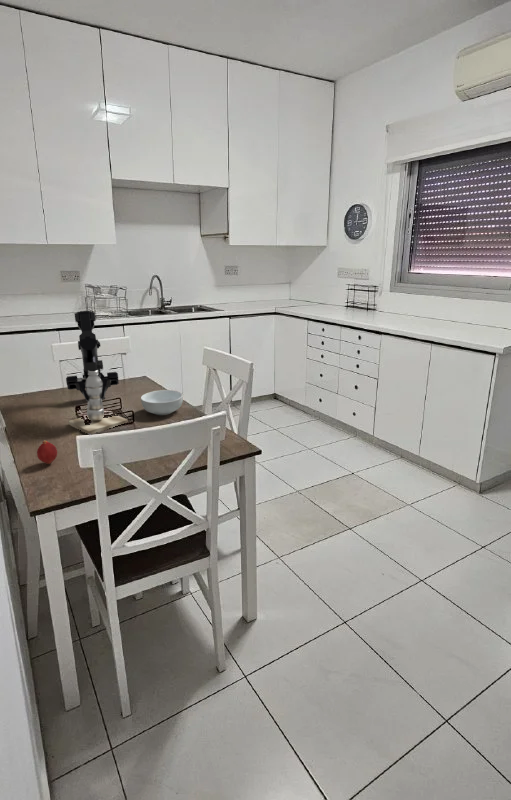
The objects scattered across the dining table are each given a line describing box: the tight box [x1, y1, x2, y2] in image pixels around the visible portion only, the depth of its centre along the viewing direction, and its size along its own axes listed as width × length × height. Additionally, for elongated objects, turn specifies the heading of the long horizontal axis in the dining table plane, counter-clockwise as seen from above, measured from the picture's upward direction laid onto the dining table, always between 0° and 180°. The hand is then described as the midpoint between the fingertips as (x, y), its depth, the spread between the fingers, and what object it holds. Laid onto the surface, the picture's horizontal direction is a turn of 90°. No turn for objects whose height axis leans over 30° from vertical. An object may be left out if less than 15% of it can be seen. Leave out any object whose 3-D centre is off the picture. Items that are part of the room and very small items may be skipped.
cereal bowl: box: [140, 389, 184, 416], centre depth 191 cm, size 17×17×7 cm
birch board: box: [68, 415, 129, 435], centre depth 179 cm, size 16×16×2 cm
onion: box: [36, 440, 58, 465], centre depth 145 cm, size 6×6×8 cm
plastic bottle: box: [85, 370, 105, 421], centre depth 176 cm, size 6×7×20 cm
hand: (95, 399), depth 175 cm, fingers closed on plastic bottle, 5 cm apart
